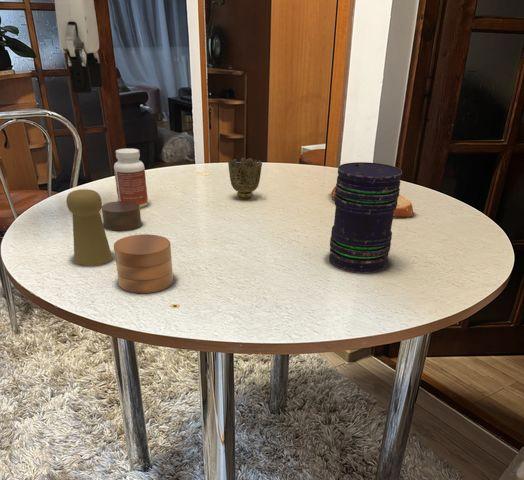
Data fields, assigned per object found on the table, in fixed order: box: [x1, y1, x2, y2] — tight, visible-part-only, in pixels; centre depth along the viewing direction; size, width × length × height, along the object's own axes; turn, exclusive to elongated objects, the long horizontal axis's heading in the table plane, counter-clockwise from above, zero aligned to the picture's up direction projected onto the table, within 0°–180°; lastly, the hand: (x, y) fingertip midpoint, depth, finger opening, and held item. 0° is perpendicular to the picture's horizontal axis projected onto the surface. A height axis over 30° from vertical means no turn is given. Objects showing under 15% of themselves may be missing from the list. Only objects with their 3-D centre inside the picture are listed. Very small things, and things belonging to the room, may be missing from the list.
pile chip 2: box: [115, 257, 173, 280], centre depth 75 cm, size 8×8×2 cm
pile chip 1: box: [113, 233, 172, 267], centre depth 74 cm, size 8×8×2 cm
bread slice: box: [331, 185, 415, 219], centre depth 113 cm, size 18×18×4 cm
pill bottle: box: [113, 148, 149, 209], centre depth 106 cm, size 6×6×11 cm
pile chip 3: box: [116, 269, 174, 294], centre depth 76 cm, size 8×8×2 cm
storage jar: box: [328, 161, 403, 274], centre depth 82 cm, size 10×10×15 cm
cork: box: [66, 188, 113, 267], centre depth 81 cm, size 6×6×11 cm
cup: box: [227, 157, 263, 201], centre depth 114 cm, size 8×7×8 cm
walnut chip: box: [101, 200, 142, 232], centre depth 97 cm, size 7×7×4 cm
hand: (88, 89), depth 94 cm, fingers open, 9 cm apart
